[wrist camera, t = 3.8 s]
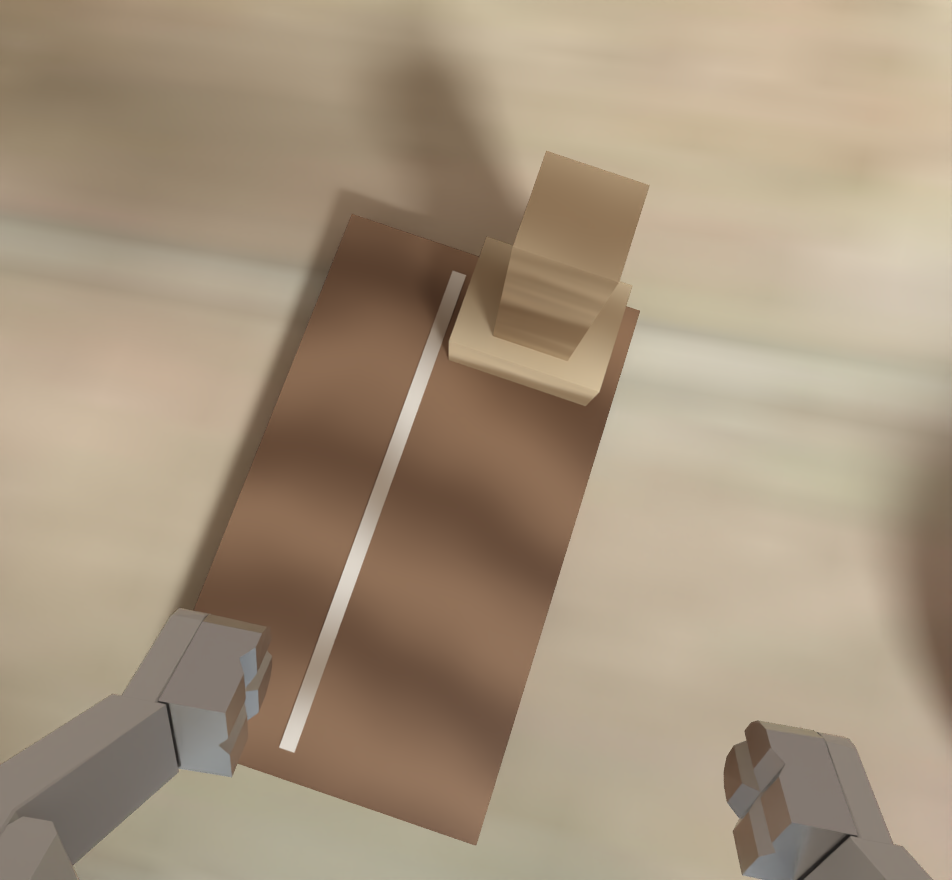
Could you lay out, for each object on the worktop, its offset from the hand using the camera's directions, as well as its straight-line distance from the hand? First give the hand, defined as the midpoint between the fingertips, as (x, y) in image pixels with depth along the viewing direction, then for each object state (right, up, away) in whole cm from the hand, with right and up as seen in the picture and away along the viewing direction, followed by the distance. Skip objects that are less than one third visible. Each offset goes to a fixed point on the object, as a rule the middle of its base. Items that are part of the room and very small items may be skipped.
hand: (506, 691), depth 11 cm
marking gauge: (+2, +9, +17) cm, 19 cm away
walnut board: (-3, +1, +17) cm, 17 cm away
